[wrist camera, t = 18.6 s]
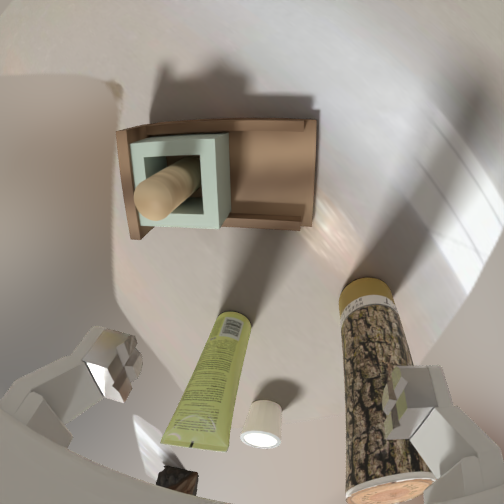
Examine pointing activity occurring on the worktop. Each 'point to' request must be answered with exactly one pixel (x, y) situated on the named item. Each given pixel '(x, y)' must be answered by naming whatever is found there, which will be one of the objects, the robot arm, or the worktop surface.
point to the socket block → (212, 176)
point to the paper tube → (375, 398)
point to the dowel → (168, 188)
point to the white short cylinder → (263, 425)
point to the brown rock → (178, 480)
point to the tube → (212, 389)
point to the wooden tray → (243, 169)
